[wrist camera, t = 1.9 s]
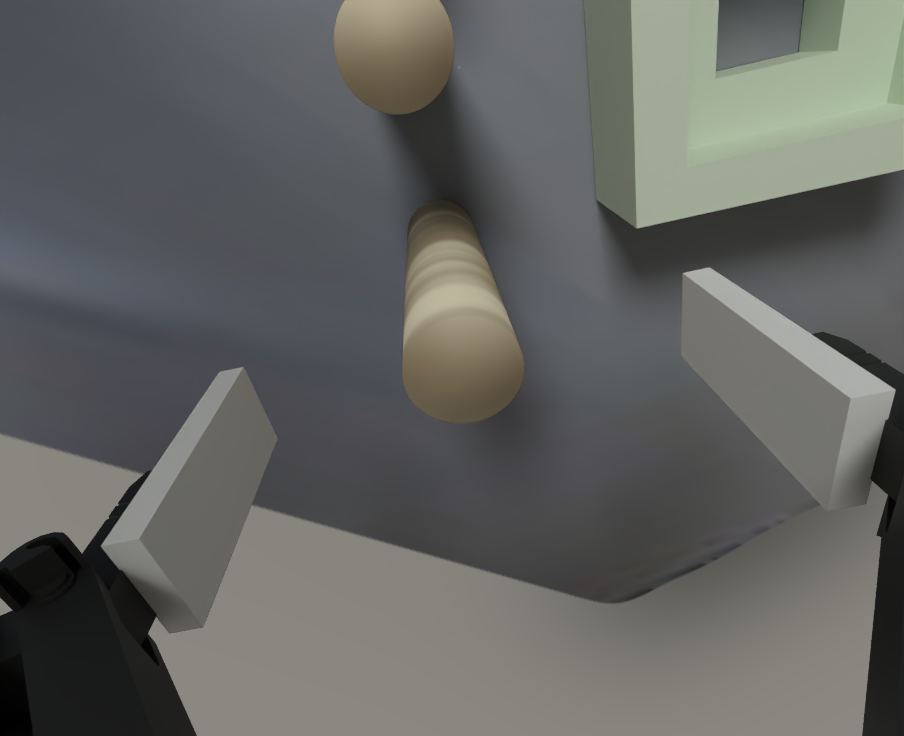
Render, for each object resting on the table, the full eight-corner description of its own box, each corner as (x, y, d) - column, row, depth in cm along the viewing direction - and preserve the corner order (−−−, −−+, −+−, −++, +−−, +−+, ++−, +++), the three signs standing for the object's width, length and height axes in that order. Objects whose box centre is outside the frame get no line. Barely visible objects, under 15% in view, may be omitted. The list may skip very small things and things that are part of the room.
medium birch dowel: (352, 18, 22) (317, -10, 14) (431, -2, 22) (440, -42, 14) (374, 107, 23) (354, 126, 16) (447, 89, 23) (464, 99, 15)
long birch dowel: (400, 208, 26) (388, 332, 14) (467, 193, 26) (515, 305, 13) (416, 272, 27) (418, 433, 15) (479, 258, 27) (532, 410, 15)
